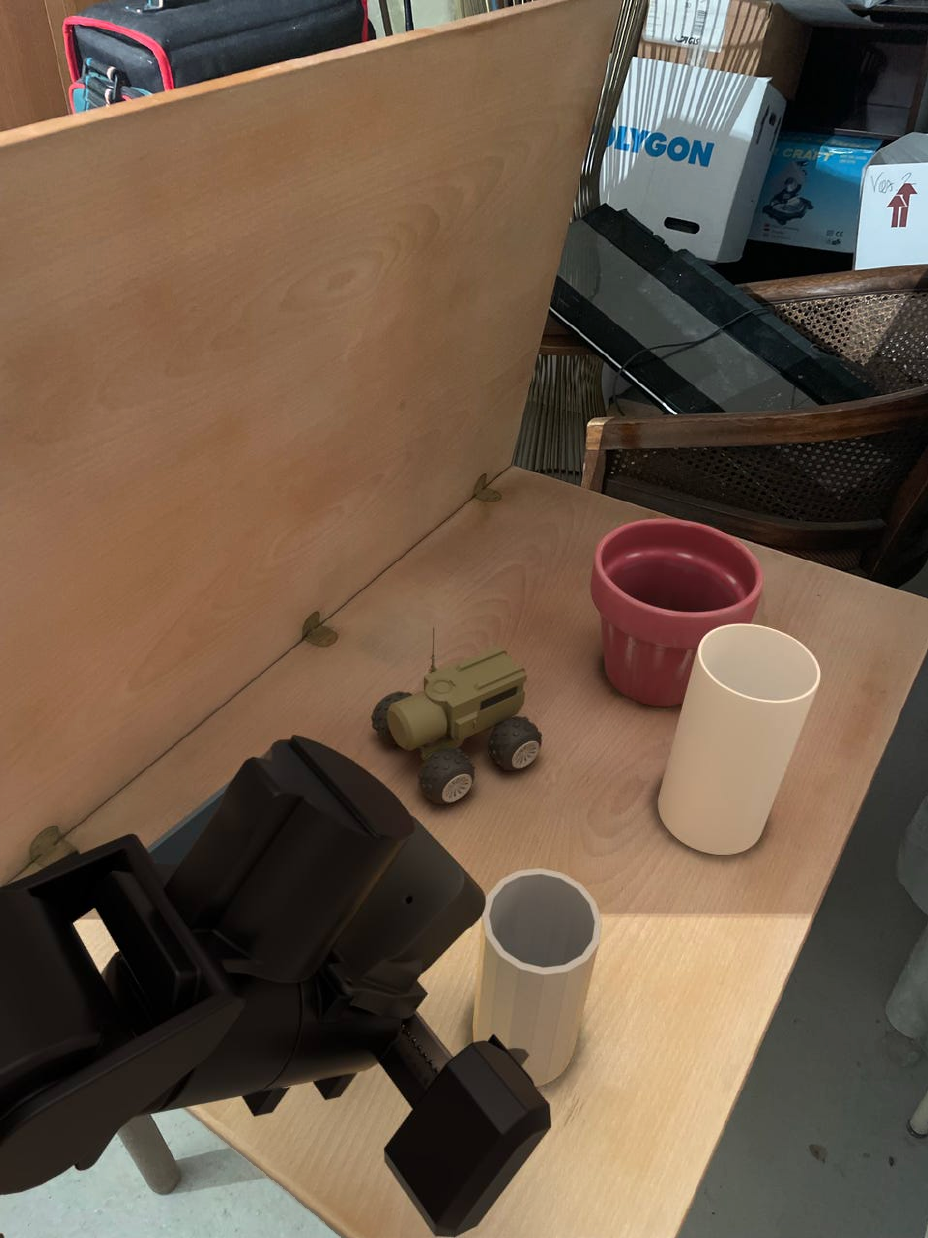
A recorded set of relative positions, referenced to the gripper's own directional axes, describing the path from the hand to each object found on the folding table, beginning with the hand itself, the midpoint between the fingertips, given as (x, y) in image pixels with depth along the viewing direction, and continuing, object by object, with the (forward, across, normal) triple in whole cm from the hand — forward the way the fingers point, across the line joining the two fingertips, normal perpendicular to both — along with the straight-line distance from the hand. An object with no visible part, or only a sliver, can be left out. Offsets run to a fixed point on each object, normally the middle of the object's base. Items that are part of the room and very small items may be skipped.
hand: (461, 989), depth 47 cm
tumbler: (+12, 0, +4) cm, 13 cm away
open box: (+7, +19, +9) cm, 22 cm away
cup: (+29, +4, -12) cm, 32 cm away
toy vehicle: (+21, +22, -4) cm, 30 cm away
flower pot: (+36, +18, -18) cm, 44 cm away
